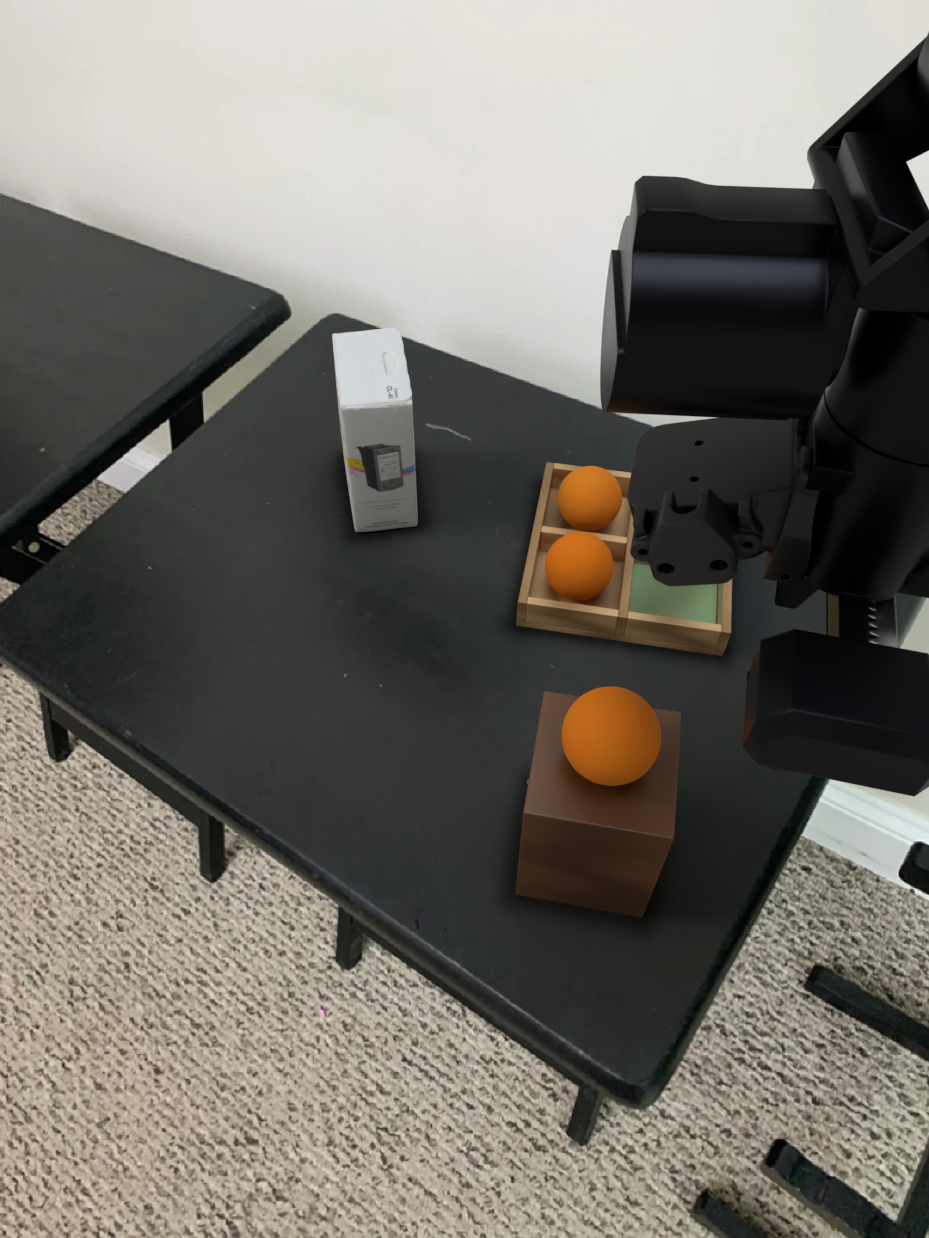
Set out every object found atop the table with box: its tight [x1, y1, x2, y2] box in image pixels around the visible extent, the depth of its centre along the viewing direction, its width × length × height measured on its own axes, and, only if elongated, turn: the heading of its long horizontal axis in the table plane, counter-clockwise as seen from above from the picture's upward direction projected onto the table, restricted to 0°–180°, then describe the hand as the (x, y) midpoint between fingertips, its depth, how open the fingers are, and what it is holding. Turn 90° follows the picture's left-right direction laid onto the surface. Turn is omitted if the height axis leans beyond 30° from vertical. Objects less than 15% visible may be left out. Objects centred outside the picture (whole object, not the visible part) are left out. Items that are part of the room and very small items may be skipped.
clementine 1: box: [557, 465, 622, 531], centre depth 66 cm, size 5×5×5 cm
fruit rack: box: [515, 461, 733, 657], centre depth 65 cm, size 14×14×3 cm
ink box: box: [331, 327, 419, 533], centre depth 66 cm, size 9×5×12 cm, turn 9°
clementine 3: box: [562, 685, 661, 786], centre depth 43 cm, size 5×5×5 cm
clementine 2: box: [545, 532, 614, 600], centre depth 62 cm, size 5×5×5 cm
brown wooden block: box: [515, 690, 682, 919], centre depth 49 cm, size 7×7×10 cm
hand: (782, 680), depth 42 cm, fingers open, 9 cm apart
